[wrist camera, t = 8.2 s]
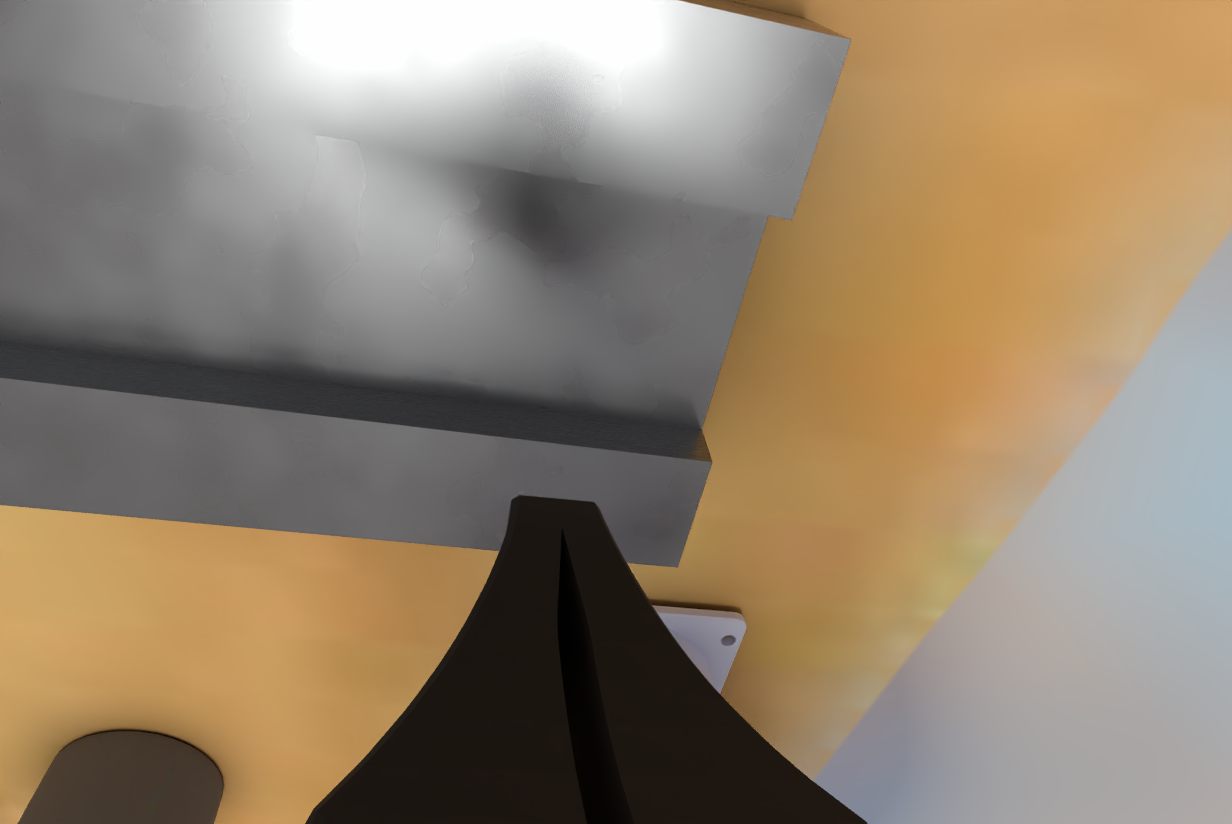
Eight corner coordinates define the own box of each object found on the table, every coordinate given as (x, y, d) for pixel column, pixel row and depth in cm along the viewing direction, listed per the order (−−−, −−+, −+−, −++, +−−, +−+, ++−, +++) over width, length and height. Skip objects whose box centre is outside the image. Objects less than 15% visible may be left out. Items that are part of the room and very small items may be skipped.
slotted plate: (662, 499, 25) (677, 567, 23) (6, 428, 22) (-63, 499, 19) (806, 18, 18) (851, 39, 16) (-126, -196, 15) (-260, -213, 12)
